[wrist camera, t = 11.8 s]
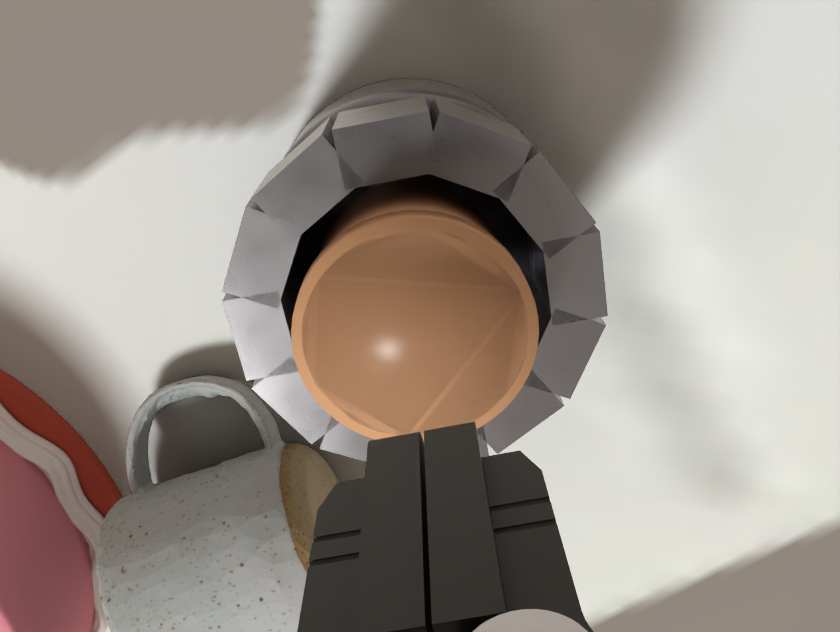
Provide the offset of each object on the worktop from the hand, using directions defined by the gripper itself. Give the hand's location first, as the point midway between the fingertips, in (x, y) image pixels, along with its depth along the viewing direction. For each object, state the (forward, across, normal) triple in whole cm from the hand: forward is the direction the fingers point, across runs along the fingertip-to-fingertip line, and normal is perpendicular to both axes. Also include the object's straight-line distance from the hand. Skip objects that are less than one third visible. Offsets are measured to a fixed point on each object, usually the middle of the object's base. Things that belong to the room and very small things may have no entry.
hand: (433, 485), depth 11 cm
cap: (+13, 0, +1) cm, 13 cm away
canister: (+19, 0, +1) cm, 19 cm away
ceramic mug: (+19, +10, +11) cm, 24 cm away
